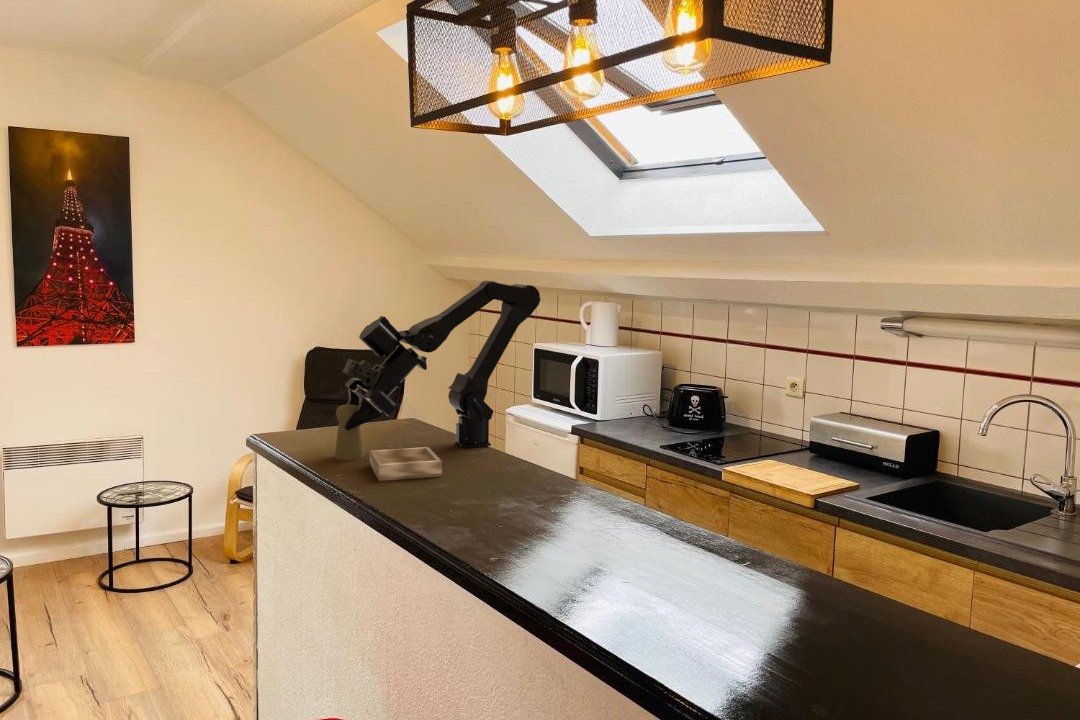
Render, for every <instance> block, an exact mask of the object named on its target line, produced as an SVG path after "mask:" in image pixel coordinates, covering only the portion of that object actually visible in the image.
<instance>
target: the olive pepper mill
mask: <svg viewBox="0 0 1080 720" xmlns="http://www.w3.org/2000/svg"><path fill="white" fill-rule="evenodd" d="M357 407H358V406H357V405H350V404H349V405H347V404H343V405H340V406H338V407H337V408H336V411H335V416H336V419H337V421H338V420H339V424H338V427H337V433H336V434H337V435H336V436H337V437H336V443H335V451H334V452H335V453H334V459H336V460H337V461H357V460H361V459H364V457H365V453H364V447H363V446H364V445H363V439H362V434H361V433H362V432H361V425H359V426H357V427H355V428H353V429H351V430H346V429H345V428H344V426H345V425H346V423H347V422H348V420H349V419H350V417H351V416H352V414H353V413H354V412H355V410H356V409H357Z"/></svg>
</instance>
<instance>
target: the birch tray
mask: <svg viewBox="0 0 1080 720" xmlns="http://www.w3.org/2000/svg"><path fill="white" fill-rule="evenodd" d="M369 466H370V468H371V469H372V471H373V473H374V474H375V475H374V476H376V478H377V479H378V481H379V482H384V481H397V480H409V479H412V480H413V479H423V478H435V477H436V478H437V477H442V476H443V461H442V459H440V457H439V456H438V455H436V453H435V452H434V451H433V450H432V449H431V448H430V447H429V446H423V447H408V448H407V447H406V448H392V449H379V450H378V449H377V450H375V449H374V450H369Z"/></svg>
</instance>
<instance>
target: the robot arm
mask: <svg viewBox="0 0 1080 720" xmlns="http://www.w3.org/2000/svg"><path fill="white" fill-rule="evenodd" d="M539 291H540V290H539V289H537V287H536V286H534V285H531V284H530V285H529V284H521V283H515V284H512V285H509V284H504V283H500V282H497V281H495V280H483V281H482V282H480V284H478V286H476V287H475V288H473V289H472V290H471V291H469V292H468V293H466V294H465V295H464V296H462V297H461V298H459V299H458V300H457V301H455V302H454V303H452V304H451V305H450V306H449V307H448V308H446V309H445V310H443V311H442V312H440V313H438V314H436V315H433V316H432V317H429V318H425V319H422V320H421V321H420V322H419V321H418V322H417V323H415V324H413V325H412V326H411V327H409V329H405V330H400V331H398V330H397V328H395V327H394V326H393V325H392V323H391V322H390V321H389V320H388V318H387V317H386V316H383V315H380V316H379V317H378V319H375V320H374V321H372V322H371V323H369V324H367V325H366V326H365V327H364V328H363V329H362V330H361V332H360V334H359V337H358V338H359V340H361V341H362V342H363V343H364V344H365V345H366V346H367V347H368V348H369V349H370V350H371V351H372V352H373V353H374V354H375V356H377V357H381V356H384V357H387V358H385V360H384V361H382V363H381V364H377V363H376V364H375V365H373V364H372V363H371V362H368V361H367V360H364V359H363V360H361V361H360V362H358V361H355V360H352V359H351V358H347V360H346V363H345V366H344V368H343V370H342V373H343V374H345V375H346V376H349V377H350V378H349V379H348V381H347V382H346V383H345V386H346V387H347V392H348V393H347V394H348V400H347V403H346V405H349V404H350V405H357V406H358V407H357V409H356V410H355V412H354V413H353V414H352V416H351V417H350V419H349V420H348V422H347V423H346V425H345V426H344V428H345V429H346V430H351V429H353V428H355V427H357V426H359V425H360V426H362V425H364V424H366V423H368V422H370V421H373V420H376V419H378V418H382V417H383V416H384V415H386V416H387V417H389V418H390V417H392V415H393V414H394V413H396V411H397V404H396V403H395V402H394V401H393V400H392V399H391V398H390V397H389V396H390V395H392V393H393V392H395V390H396V389H401V388H402V387H403V386H404V385H403V383H402V382H403V381H404V380H405V379H406V378H407V377H408V376H409V374H411V372H412V371H413V370H414V369H415V368H416V367H418V368H419V369H422V370H424V371H426V370H427V369H428V365H427V359H428V358H427V357H426V356H424V355H421V356H420V355H419V354H418V353H417V352H416V351H415V350H417V351H421V352H422V353H433V352H435V351H436V350H437V349H439V348H440V347H441V346H442V344H443V343H444V342H445V341H447V339H448V337H449V336H450V334H451V332H453V330H454V329H455V328H457V327H458V326H459V325H461V324H462V323H464V322H465V321H466V320H467V319H469V318H471V316H473V315H475V314H476V313H477V312H479V311H480V310H481V309H483V307H485V306H487V305H488V304H489V303H491V302H492V301H493V300H496V301H499V302H501V309H500V316H499V318H498V319H497V322H496V323H495V325H494V327H493V329H491V332H490V334H489V336H488V337H487V340H486V341H485V343H484V345H483V346H482V348H481V349H480V352H479V353H478V355H477V357H476V359H475V360H474V362H473V364H471V365H472V366H471V367H470V369H469V370H468V371H467V372H466V373H465V374H463V373H460V372H457V373H456V375H455V377H454V380H453V382H452V384H451V385H449V386H448V389H449V392H448V395H447V397H448V401H449V403H450V405H451V407H453V408H454V409H455V412H456V414H457V416H458V415H459V416H458V422H457V423H456V424H455V425H456V427H455V432H456V433H455V441H456V443H458V445H460V446H461V447H462V448H476V447H491V446H492V443H491V442H490V441H489V439H490V437H489V435H490V433H489V432H490V431H489V430H490V421H491V419H492V417H493V414H494V409H492V408H491V407H490V406H489V405H488V404H487V403H486V402H485V399H486V396H487V394H488V388H489V387H488V386H489V379H490V377H491V376H492V374H493V372H494V371H495V368H496V367H497V365H498V363H499V361H500V359H501V358H502V356H503V354H504V353H505V351H506V349H507V347H508V345H509V344H510V342H511V340H512V338H513V336H514V335H515V333H516V332H517V330H518V328H519V326H520V325H521V324H522V323H523V322H525V321H526V320H527V319H528V318H530V316H532V314H533V313H534V312H535V310H537V308H538V306H539V305H540V303H541V299H542V298H541V294H540V292H539ZM402 343H403V344H407V345H409V346H411V347H409V348H406V347H405V346H404V345H403V344H402ZM372 365H373V366H372ZM382 412H383V413H382ZM337 423H338V425H339V420H338V419H337ZM466 438H467V439H466ZM475 442H476V443H475Z"/></svg>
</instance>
